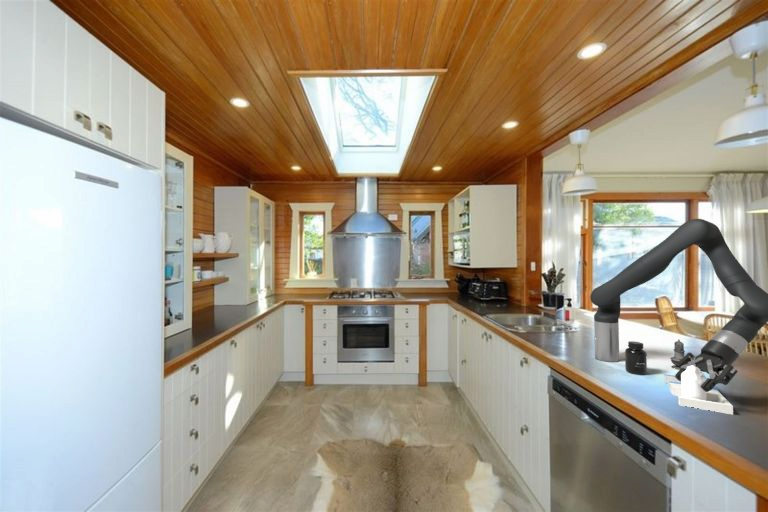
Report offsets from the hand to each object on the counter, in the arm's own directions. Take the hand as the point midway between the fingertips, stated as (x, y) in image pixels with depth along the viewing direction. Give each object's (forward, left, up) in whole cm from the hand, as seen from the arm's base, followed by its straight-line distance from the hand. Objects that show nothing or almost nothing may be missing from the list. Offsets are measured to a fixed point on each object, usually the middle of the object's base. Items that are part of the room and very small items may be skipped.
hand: (690, 384), depth 103 cm
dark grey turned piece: (+5, +41, -6) cm, 41 cm away
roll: (+1, +1, -6) cm, 6 cm away
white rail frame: (+2, +7, -6) cm, 9 cm away
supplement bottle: (-11, +26, -6) cm, 29 cm away
